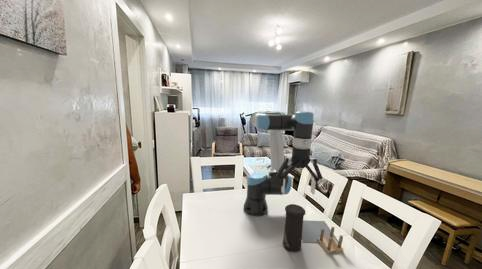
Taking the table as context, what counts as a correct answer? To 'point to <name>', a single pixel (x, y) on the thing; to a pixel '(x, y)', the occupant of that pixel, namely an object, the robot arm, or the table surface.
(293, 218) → the container
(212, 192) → the table surface
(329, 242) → the stool
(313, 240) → the mat
